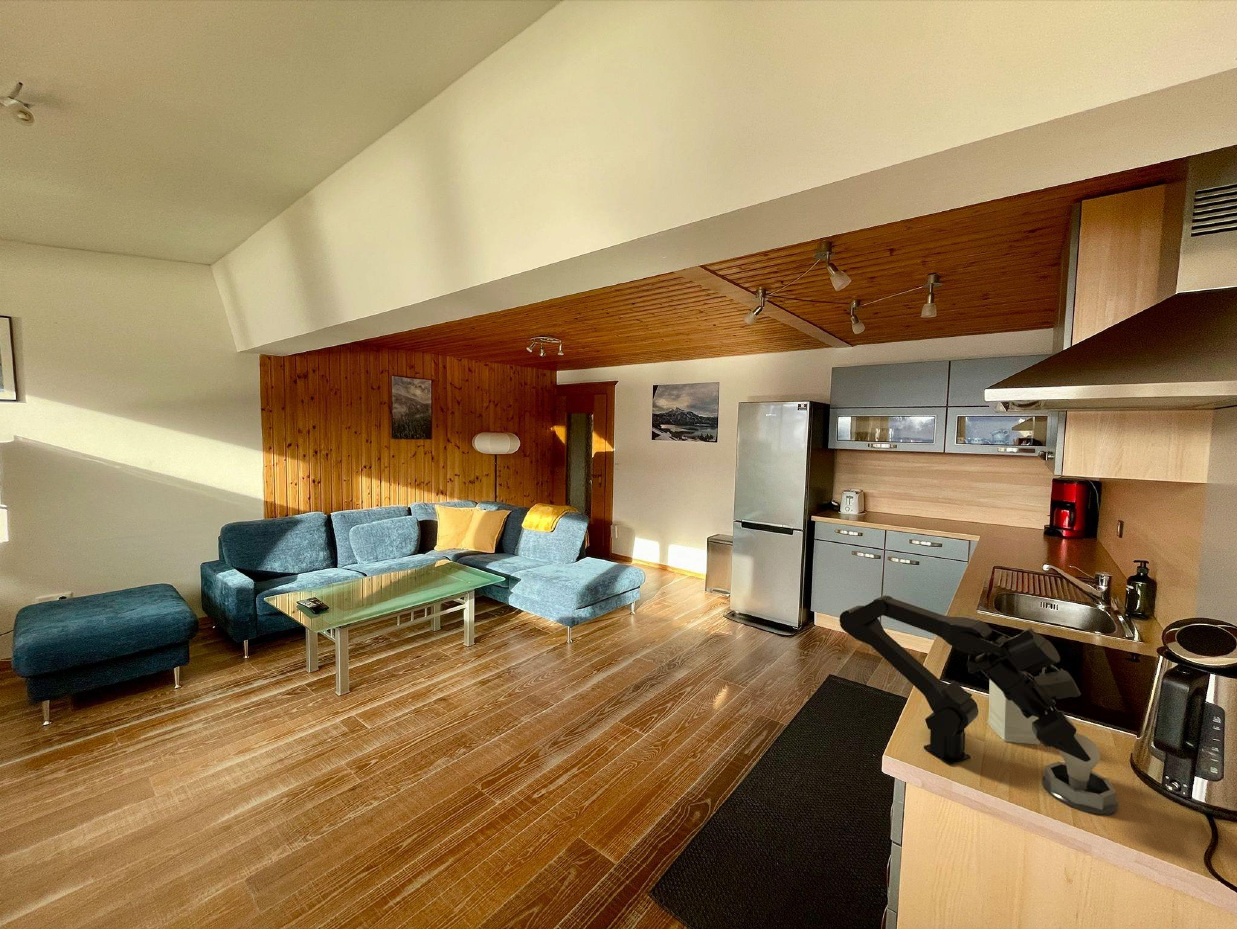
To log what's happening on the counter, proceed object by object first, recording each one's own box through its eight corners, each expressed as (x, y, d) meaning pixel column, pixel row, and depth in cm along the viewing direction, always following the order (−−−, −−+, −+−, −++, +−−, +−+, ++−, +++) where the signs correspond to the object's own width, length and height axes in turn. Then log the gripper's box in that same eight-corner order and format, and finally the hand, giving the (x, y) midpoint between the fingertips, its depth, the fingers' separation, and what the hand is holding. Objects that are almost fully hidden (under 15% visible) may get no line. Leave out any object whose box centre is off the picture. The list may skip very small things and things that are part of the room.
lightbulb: (1055, 790, 100) (1056, 735, 99) (1058, 775, 104) (1059, 722, 104) (1098, 805, 95) (1099, 748, 95) (1100, 789, 100) (1101, 734, 99)
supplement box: (1041, 745, 115) (1042, 690, 114) (1003, 742, 116) (1005, 688, 116) (1022, 727, 122) (1023, 675, 121) (987, 724, 124) (988, 673, 123)
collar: (1094, 821, 92) (1095, 804, 92) (1028, 783, 103) (1029, 767, 103) (1132, 806, 96) (1133, 790, 96) (1064, 770, 106) (1065, 755, 106)
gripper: (1063, 677, 92) (1143, 753, 88) (1034, 639, 109) (1100, 701, 104) (1007, 710, 96) (1081, 784, 92) (988, 668, 113) (1050, 729, 108)
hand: (1079, 746), depth 99 cm, fingers open, 9 cm apart
